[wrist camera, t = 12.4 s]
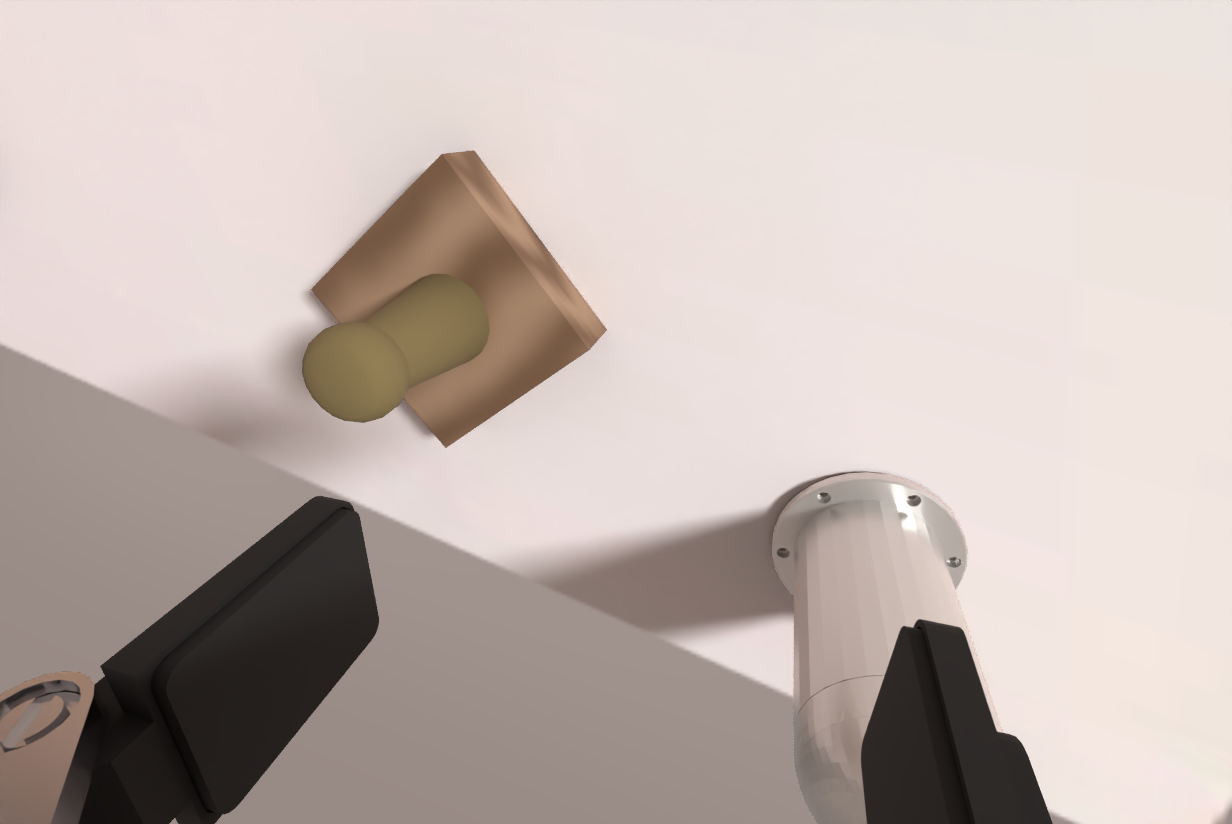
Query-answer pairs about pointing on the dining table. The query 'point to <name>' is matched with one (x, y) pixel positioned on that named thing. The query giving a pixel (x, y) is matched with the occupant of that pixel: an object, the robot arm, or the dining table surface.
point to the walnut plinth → (487, 262)
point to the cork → (395, 348)
